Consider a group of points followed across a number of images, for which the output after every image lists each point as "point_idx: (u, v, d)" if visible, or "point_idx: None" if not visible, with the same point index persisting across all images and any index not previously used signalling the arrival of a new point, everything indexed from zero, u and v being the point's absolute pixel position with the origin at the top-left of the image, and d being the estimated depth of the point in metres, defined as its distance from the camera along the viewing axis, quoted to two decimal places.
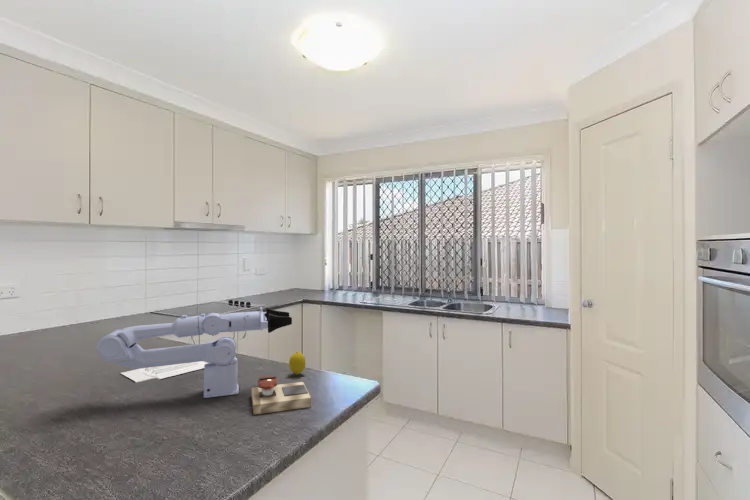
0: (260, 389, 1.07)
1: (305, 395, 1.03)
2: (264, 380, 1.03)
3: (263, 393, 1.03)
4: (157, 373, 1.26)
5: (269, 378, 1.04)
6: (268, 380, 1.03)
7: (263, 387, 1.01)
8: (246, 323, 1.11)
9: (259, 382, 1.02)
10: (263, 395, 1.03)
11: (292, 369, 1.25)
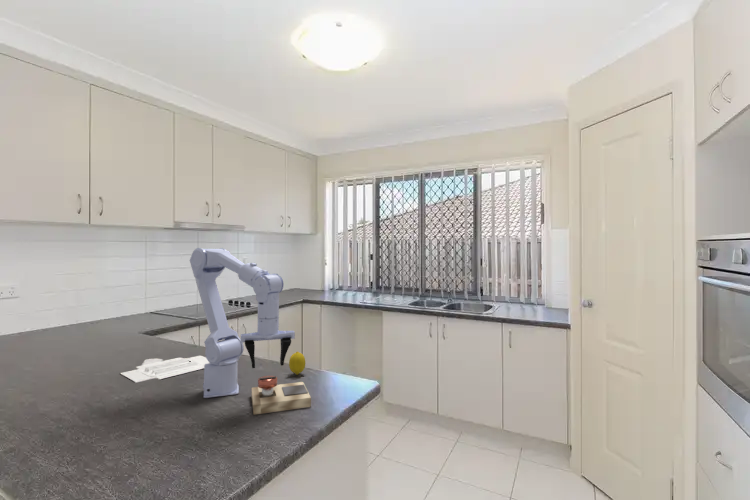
0: (260, 389, 1.07)
1: (305, 395, 1.03)
2: (264, 380, 1.03)
3: (263, 393, 1.03)
4: (157, 373, 1.25)
5: (269, 378, 1.04)
6: (268, 380, 1.03)
7: (263, 387, 1.01)
8: None
9: (259, 382, 1.02)
10: (263, 395, 1.03)
11: (292, 369, 1.25)
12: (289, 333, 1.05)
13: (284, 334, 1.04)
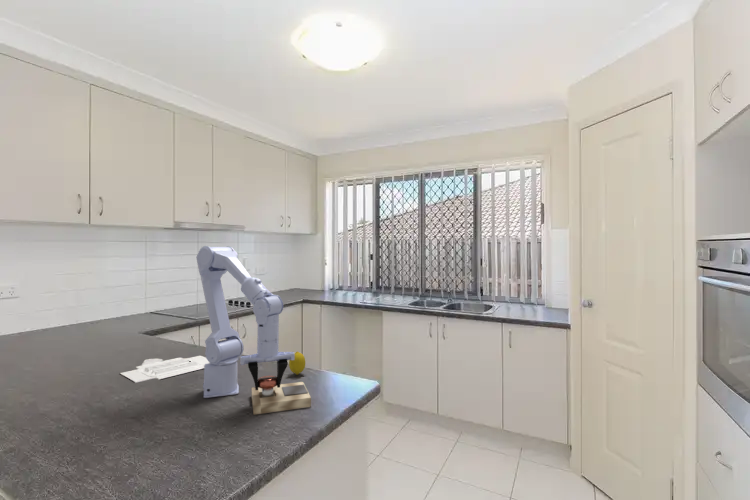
0: (260, 389, 1.07)
1: (305, 395, 1.03)
2: (264, 380, 1.03)
3: (263, 393, 1.03)
4: (157, 373, 1.25)
5: (269, 378, 1.04)
6: (268, 380, 1.03)
7: (263, 387, 1.01)
8: (257, 341, 1.03)
9: (259, 382, 1.02)
10: (263, 395, 1.03)
11: (292, 369, 1.25)
12: (289, 355, 1.05)
13: (284, 356, 1.04)
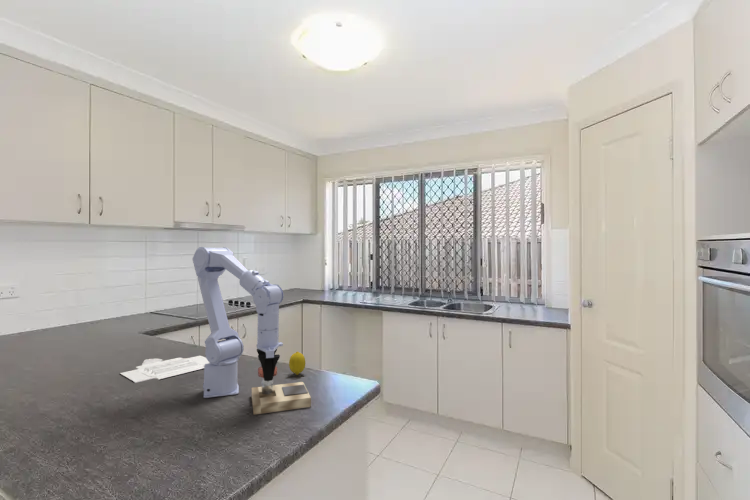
0: (260, 389, 1.07)
1: (305, 395, 1.03)
2: None
3: (270, 382, 1.03)
4: (156, 373, 1.25)
5: None
6: None
7: (276, 374, 1.04)
8: (268, 331, 1.01)
9: None
10: (271, 384, 1.03)
11: (292, 369, 1.25)
12: None
13: None
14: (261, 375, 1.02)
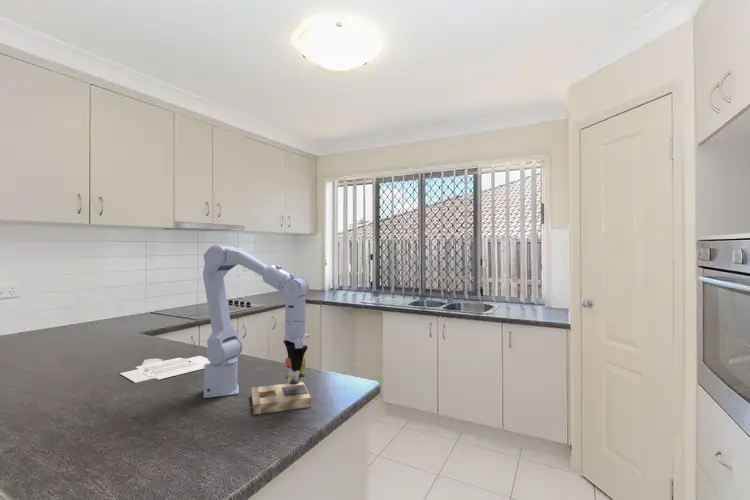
0: (260, 389, 1.07)
1: (305, 395, 1.03)
2: None
3: (297, 372, 1.06)
4: (156, 373, 1.25)
5: None
6: None
7: (302, 365, 1.06)
8: (296, 323, 1.04)
9: None
10: (297, 374, 1.06)
11: None
12: None
13: None
14: (289, 365, 1.04)
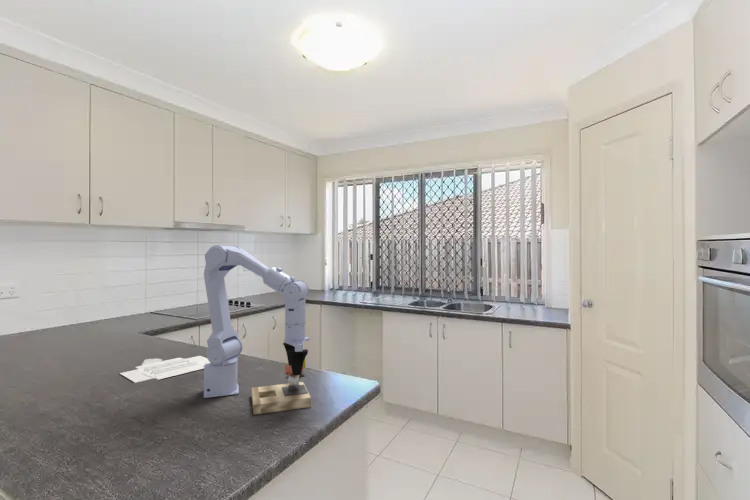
0: (260, 389, 1.07)
1: (305, 395, 1.03)
2: None
3: (297, 379, 1.06)
4: (156, 373, 1.25)
5: None
6: None
7: (302, 372, 1.06)
8: (296, 326, 1.04)
9: None
10: (297, 381, 1.06)
11: None
12: None
13: None
14: (288, 373, 1.04)
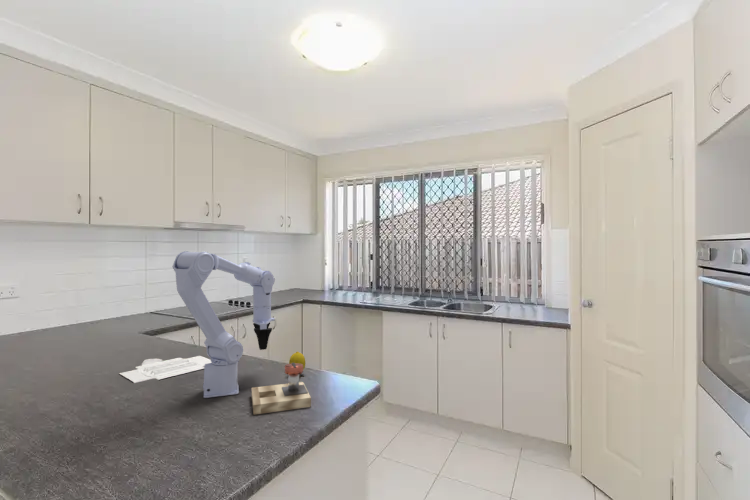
0: (260, 389, 1.07)
1: (305, 395, 1.03)
2: (298, 366, 1.06)
3: (297, 379, 1.06)
4: (156, 374, 1.25)
5: (295, 364, 1.07)
6: (299, 365, 1.07)
7: (302, 371, 1.06)
8: (262, 308, 1.22)
9: (299, 368, 1.05)
10: (297, 381, 1.06)
11: None
12: None
13: None
14: (288, 372, 1.04)
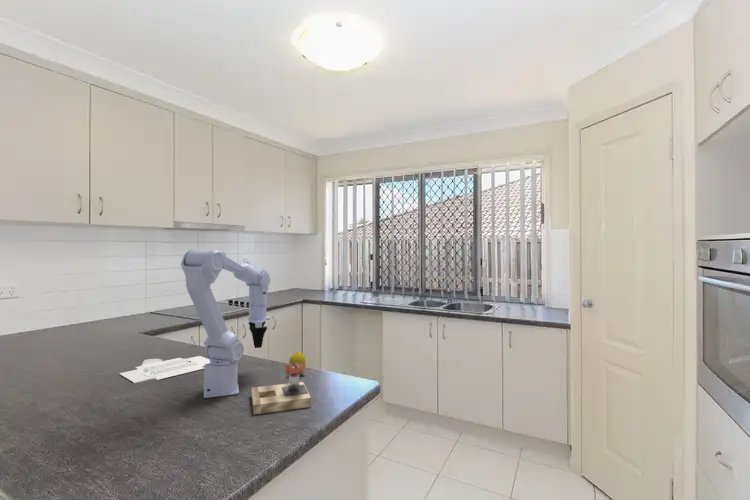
0: (260, 389, 1.07)
1: (305, 395, 1.03)
2: (299, 366, 1.06)
3: (297, 379, 1.06)
4: (155, 374, 1.25)
5: (295, 364, 1.07)
6: (299, 365, 1.07)
7: (303, 371, 1.06)
8: (258, 307, 1.24)
9: (300, 369, 1.05)
10: (297, 381, 1.06)
11: None
12: None
13: None
14: (289, 373, 1.04)
